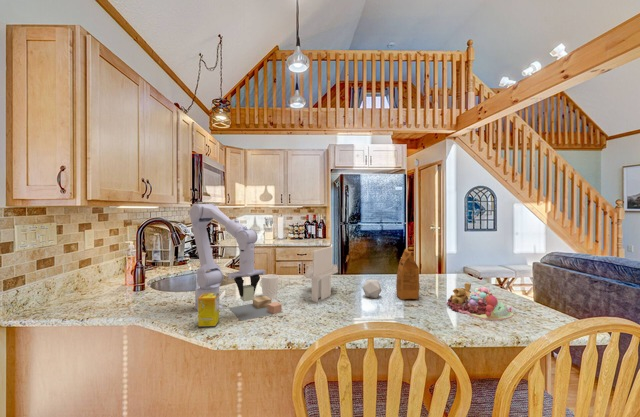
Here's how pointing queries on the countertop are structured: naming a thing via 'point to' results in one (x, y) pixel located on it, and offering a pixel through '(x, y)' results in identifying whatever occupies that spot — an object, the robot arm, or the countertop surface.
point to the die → (372, 288)
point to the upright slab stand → (321, 273)
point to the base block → (261, 302)
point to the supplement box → (208, 310)
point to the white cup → (269, 285)
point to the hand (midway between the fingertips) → (246, 295)
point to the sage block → (248, 293)
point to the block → (274, 307)
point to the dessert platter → (478, 304)
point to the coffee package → (407, 277)
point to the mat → (249, 312)
